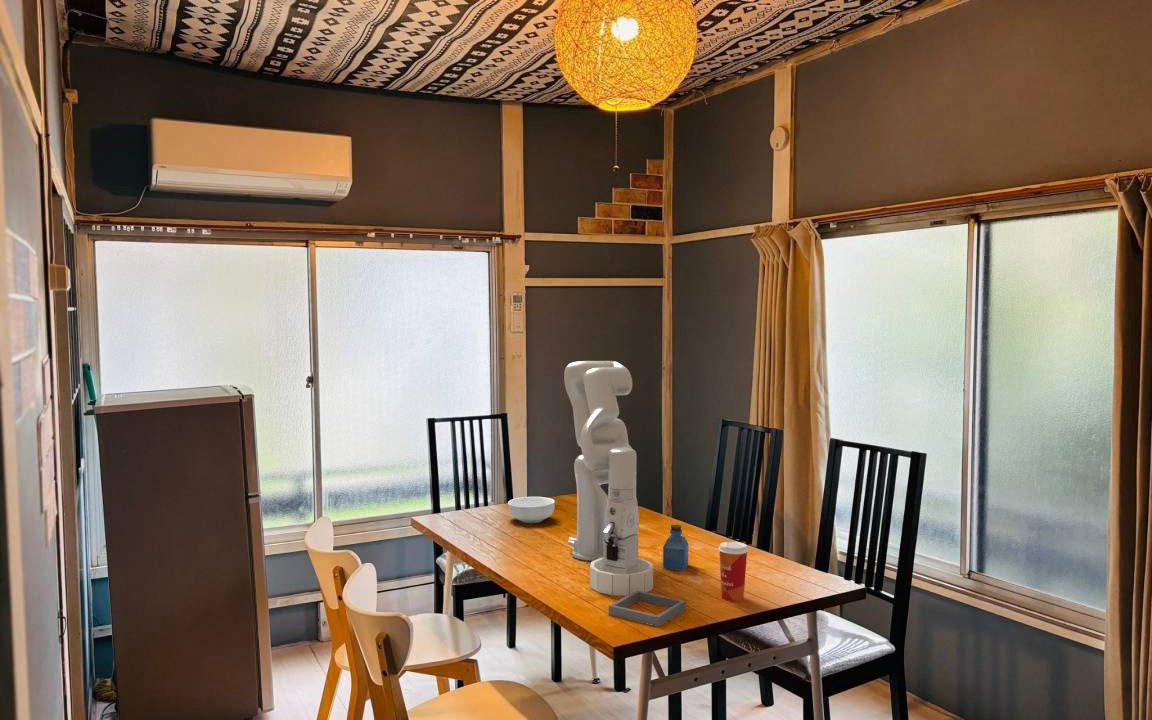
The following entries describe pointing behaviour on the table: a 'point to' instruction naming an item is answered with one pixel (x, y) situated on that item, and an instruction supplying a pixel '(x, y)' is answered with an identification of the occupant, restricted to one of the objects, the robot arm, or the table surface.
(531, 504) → the cereal bowl
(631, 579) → the bowl
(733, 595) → the paper cup
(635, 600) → the gray square frame
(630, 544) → the supplement box
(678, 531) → the perfume bottle
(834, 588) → the table surface
